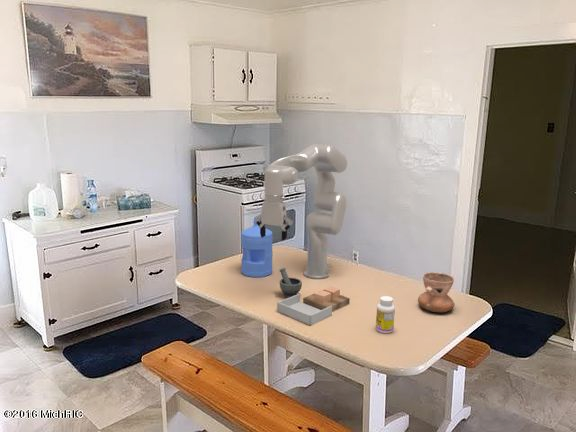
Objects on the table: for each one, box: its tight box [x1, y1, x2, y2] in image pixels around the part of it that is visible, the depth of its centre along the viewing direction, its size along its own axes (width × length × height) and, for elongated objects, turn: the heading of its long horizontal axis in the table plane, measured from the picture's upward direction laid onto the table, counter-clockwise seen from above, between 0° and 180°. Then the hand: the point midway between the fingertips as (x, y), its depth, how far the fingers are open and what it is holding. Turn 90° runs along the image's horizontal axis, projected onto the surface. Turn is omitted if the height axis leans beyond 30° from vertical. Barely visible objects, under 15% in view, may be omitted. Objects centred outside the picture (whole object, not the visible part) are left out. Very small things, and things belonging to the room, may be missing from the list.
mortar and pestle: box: [279, 267, 303, 299], centre depth 214 cm, size 11×9×12 cm
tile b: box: [313, 289, 331, 303], centre depth 205 cm, size 5×5×3 cm
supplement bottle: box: [375, 295, 396, 334], centre depth 183 cm, size 7×7×13 cm
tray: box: [276, 293, 333, 326], centre depth 198 cm, size 13×18×4 cm
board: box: [302, 293, 351, 313], centre depth 208 cm, size 14×14×2 cm
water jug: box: [240, 217, 274, 278], centre depth 241 cm, size 16×16×28 cm
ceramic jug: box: [417, 271, 455, 313], centre depth 204 cm, size 18×14×14 cm
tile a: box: [323, 286, 341, 299], centre depth 209 cm, size 5×5×3 cm
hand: (273, 238), depth 206 cm, fingers open, 9 cm apart
